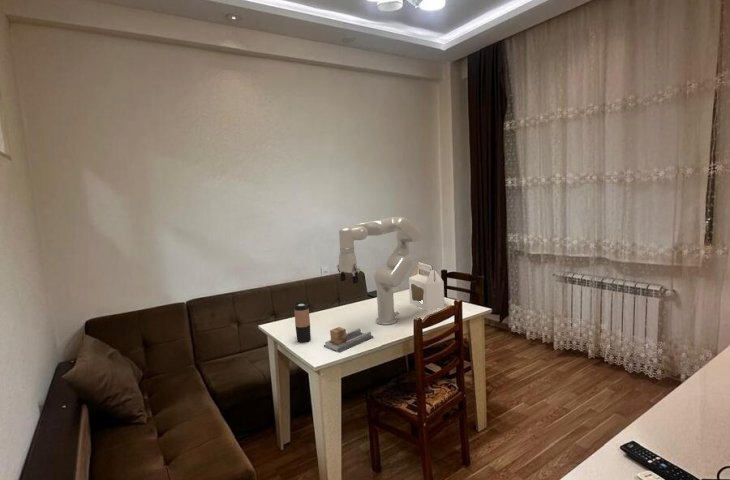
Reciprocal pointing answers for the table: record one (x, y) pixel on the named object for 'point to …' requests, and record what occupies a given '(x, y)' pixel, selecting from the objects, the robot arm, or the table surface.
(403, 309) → the table surface
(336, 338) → the walnut block
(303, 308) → the travel mug
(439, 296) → the gable box
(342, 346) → the guide channel
